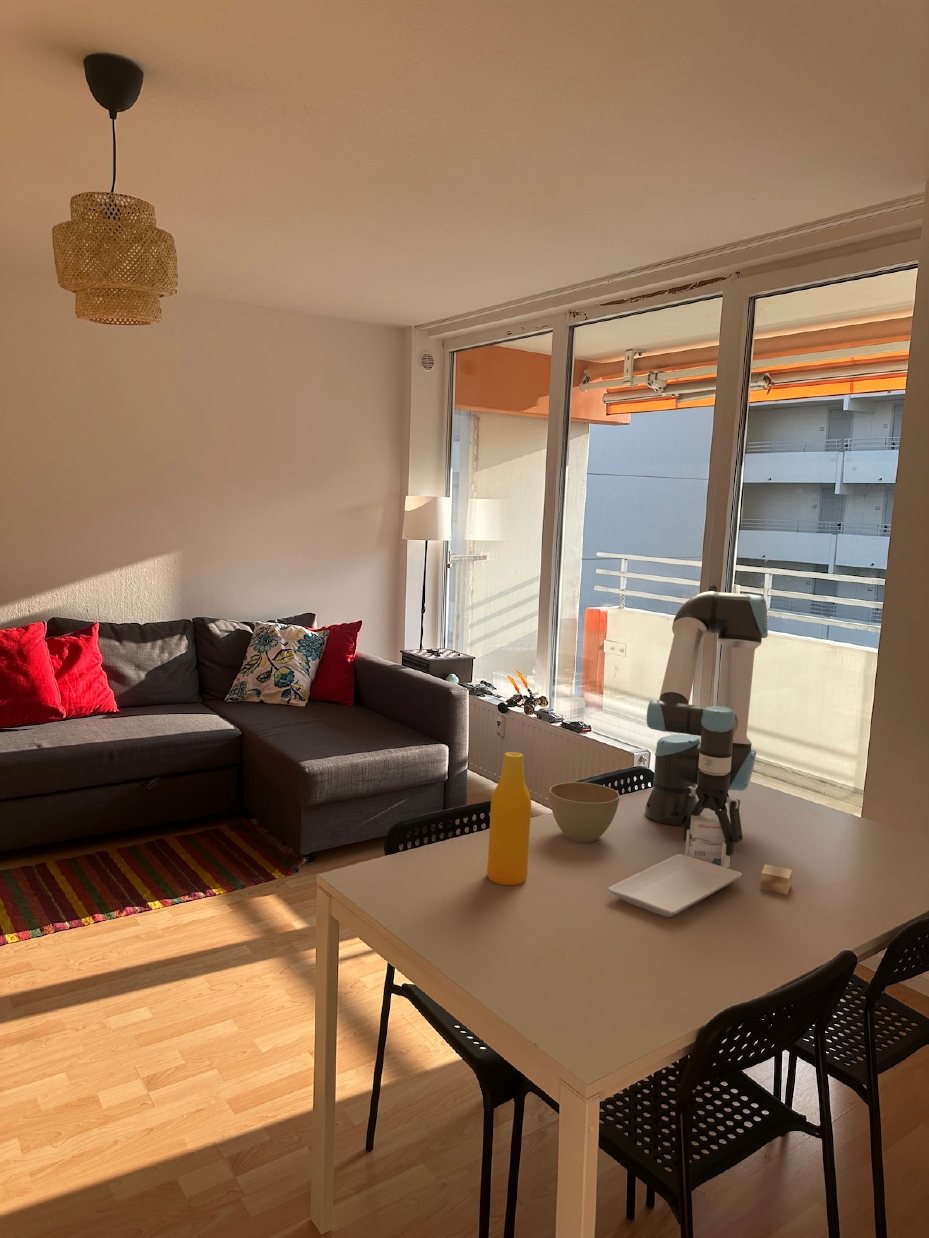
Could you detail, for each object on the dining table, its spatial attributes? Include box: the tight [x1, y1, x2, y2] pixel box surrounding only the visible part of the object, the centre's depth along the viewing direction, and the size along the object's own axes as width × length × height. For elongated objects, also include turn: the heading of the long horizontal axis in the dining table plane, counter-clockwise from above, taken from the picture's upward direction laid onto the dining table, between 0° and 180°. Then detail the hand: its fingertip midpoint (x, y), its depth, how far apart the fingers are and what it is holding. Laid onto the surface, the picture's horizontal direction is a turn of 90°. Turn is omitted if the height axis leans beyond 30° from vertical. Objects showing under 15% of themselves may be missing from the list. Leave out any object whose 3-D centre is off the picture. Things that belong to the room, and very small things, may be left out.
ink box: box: [688, 814, 726, 866], centre depth 216 cm, size 8×5×12 cm, turn 84°
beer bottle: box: [486, 751, 532, 886], centre depth 202 cm, size 9×9×29 cm
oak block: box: [759, 863, 793, 895], centre depth 205 cm, size 6×6×4 cm
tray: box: [607, 853, 743, 918], centre depth 199 cm, size 17×32×4 cm, turn 137°
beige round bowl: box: [549, 781, 620, 843], centre depth 232 cm, size 18×18×12 cm
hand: (706, 860), depth 217 cm, fingers closed on ink box, 9 cm apart
